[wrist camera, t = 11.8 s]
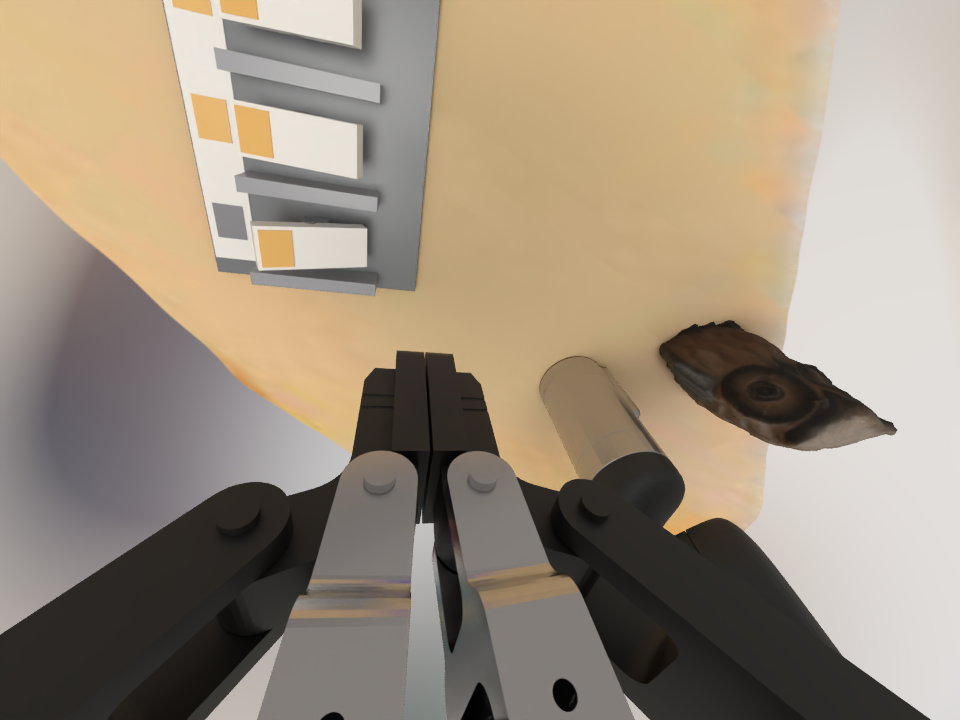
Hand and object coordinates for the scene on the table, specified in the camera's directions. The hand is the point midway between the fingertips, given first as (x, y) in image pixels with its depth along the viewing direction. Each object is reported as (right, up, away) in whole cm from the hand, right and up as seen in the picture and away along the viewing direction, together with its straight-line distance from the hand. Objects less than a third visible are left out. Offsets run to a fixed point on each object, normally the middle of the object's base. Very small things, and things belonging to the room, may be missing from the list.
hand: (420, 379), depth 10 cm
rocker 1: (-11, +24, +14) cm, 30 cm away
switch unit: (-13, +20, +22) cm, 32 cm away
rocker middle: (-12, +18, +18) cm, 28 cm away
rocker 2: (-13, +11, +22) cm, 28 cm away
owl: (+33, +1, +44) cm, 55 cm away
